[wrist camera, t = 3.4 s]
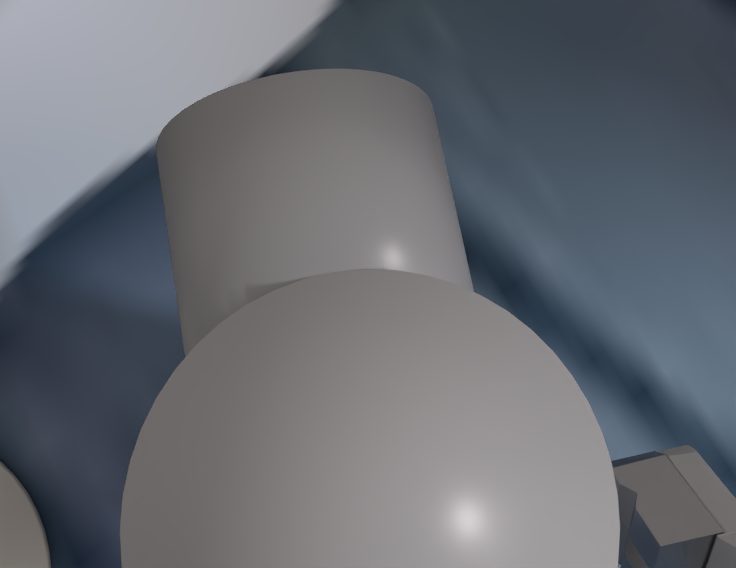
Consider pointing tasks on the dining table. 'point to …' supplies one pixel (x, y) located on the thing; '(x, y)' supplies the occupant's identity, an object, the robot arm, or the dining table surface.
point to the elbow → (348, 357)
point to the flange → (20, 526)
